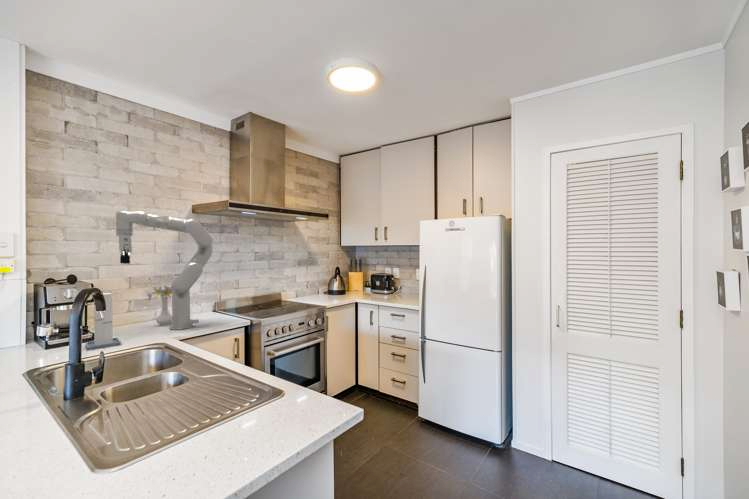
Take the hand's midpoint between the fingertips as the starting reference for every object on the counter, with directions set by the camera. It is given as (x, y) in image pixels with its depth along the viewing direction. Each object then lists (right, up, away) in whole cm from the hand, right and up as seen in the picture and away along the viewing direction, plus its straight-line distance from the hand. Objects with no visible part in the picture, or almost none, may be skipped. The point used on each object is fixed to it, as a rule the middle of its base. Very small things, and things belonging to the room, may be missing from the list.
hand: (125, 263), depth 192 cm
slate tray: (+5, -40, -22) cm, 46 cm away
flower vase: (+7, -40, +24) cm, 47 cm away
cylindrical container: (+5, -40, -22) cm, 46 cm away
